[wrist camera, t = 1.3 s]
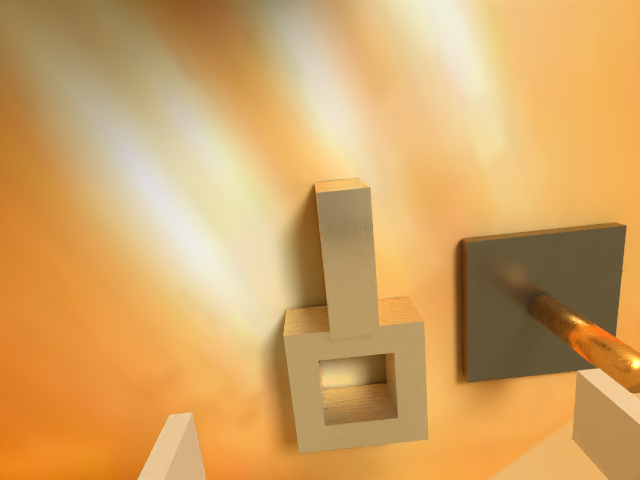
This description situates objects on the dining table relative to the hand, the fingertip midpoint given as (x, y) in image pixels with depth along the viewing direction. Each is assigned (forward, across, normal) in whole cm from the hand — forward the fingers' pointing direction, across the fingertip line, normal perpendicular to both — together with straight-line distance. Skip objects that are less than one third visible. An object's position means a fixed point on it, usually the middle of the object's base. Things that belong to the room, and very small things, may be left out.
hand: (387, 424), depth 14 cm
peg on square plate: (+16, +14, -4) cm, 21 cm away
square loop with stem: (+16, 0, -2) cm, 16 cm away
